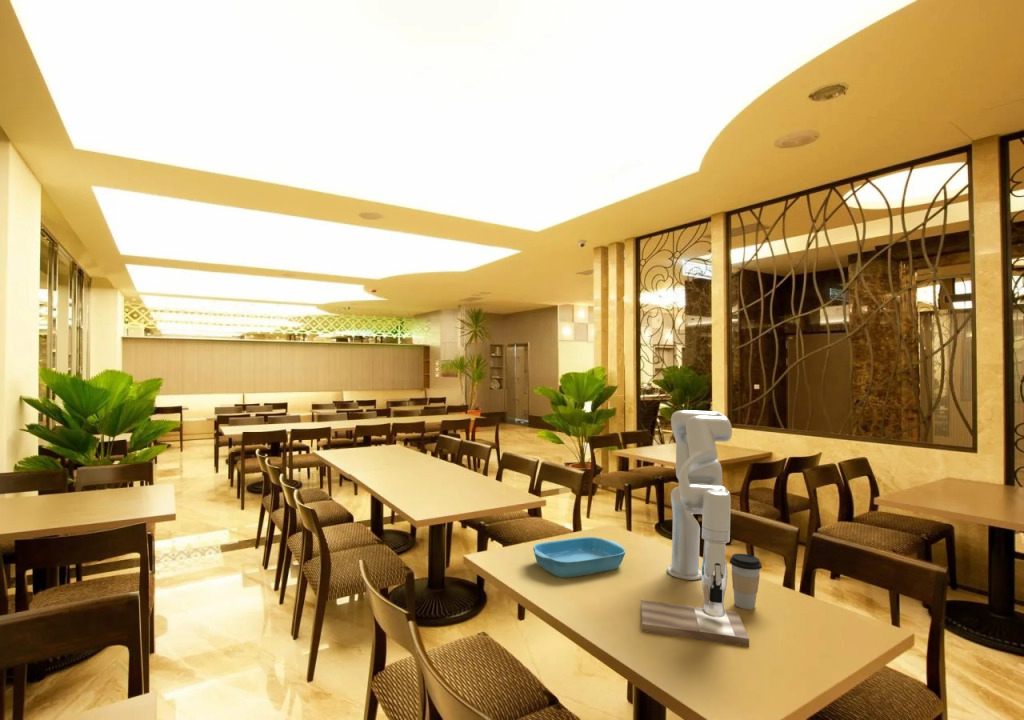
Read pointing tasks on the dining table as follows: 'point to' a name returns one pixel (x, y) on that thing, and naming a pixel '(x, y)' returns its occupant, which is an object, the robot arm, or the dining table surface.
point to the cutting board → (692, 623)
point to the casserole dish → (579, 556)
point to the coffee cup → (745, 579)
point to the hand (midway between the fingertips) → (713, 596)
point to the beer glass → (709, 607)
